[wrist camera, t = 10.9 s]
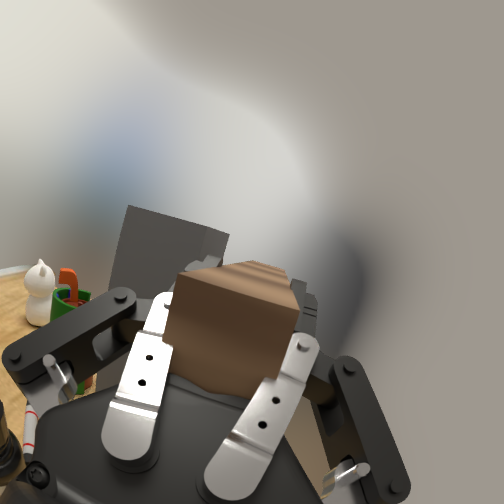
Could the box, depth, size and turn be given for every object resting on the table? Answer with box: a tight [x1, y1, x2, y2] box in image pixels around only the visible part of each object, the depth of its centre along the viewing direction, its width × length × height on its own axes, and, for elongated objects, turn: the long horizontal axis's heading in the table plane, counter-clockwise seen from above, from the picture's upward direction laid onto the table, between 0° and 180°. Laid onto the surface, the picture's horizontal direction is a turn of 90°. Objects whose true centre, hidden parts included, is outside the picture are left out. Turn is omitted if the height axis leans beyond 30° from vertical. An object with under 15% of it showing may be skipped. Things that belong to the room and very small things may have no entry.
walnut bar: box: [161, 261, 300, 400], centre depth 20 cm, size 24×4×4 cm, turn 175°
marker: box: [23, 400, 38, 466], centre depth 24 cm, size 15×2×2 cm, turn 34°
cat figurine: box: [24, 259, 55, 327], centre depth 55 cm, size 9×12×15 cm
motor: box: [49, 268, 93, 394], centre depth 40 cm, size 10×9×20 cm
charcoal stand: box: [96, 205, 229, 392], centre depth 34 cm, size 12×9×32 cm
